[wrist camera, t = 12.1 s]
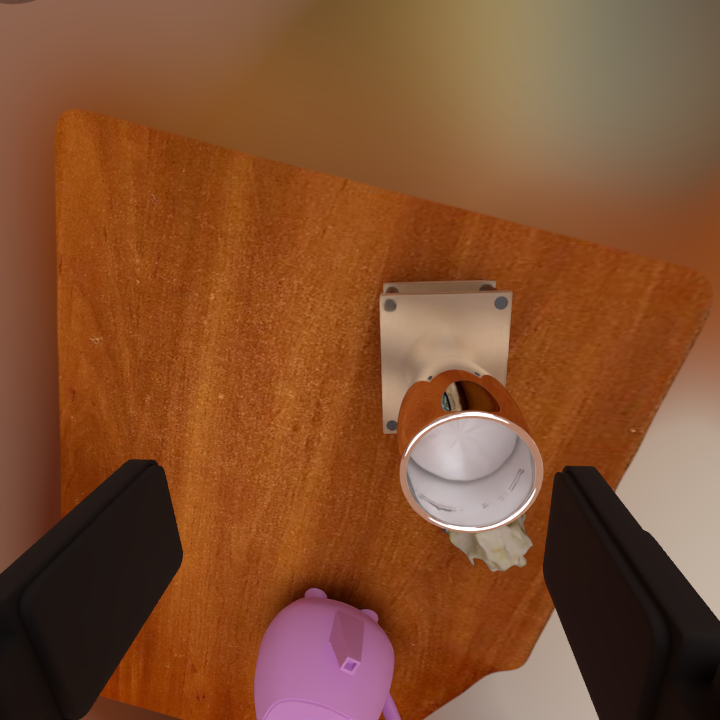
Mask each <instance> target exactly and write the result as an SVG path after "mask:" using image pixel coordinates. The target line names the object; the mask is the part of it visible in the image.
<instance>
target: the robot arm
mask: <svg viewBox="0 0 720 720" xmlns="http://www.w3.org/2000/svg"><path fill="white" fill-rule="evenodd" d="M182 559H183V550H182V545H181V541H180V537H179V532H178V528H177V523H176V519H175V515H174V510H173V506H172V502H171V497H170V493H169V489H168V484H167V480H166V475H165V471H164V469H163V467H162V466H159V465H158V463H157V462H156V461H155V460H139V459H132V460H128V461H127V462H125V463H124V464H123V465H122V466H121V467H120V468H119V469H118V470H116V471H115V472H114V473H113V474H112V475H111V476H110V477H109V478H108V479H106V480H105V481H104V482H103V483H102V484H101V485H100V486H99V487H97V488H96V489H95V490H94V491H93V492H92V493H91V494H90V495H88V496H87V497H86V498H85V499H84V500H83V501H82V502H81V503H80V504H78V505H77V506H76V507H75V508H74V509H73V510H72V511H71V512H69V513H68V514H67V515H66V516H65V517H64V518H63V519H62V520H61V521H59V522H58V523H57V524H56V525H55V526H54V527H53V528H52V529H50V530H49V531H48V532H47V533H46V534H45V535H44V536H43V537H41V538H40V539H39V540H38V541H37V542H36V543H35V544H34V545H32V546H31V547H30V548H29V549H28V550H27V551H26V552H25V553H24V554H22V555H21V556H20V557H19V558H18V559H17V560H16V561H15V562H13V563H12V564H11V565H10V566H9V567H8V568H7V569H6V570H4V571H3V572H2V573H1V574H0V720H79V719H81V718H83V717H84V716H85V715H86V714H87V713H88V712H89V710H90V709H91V707H92V706H93V704H94V702H95V701H96V699H97V698H98V696H99V695H100V693H101V691H102V690H103V688H104V687H105V685H106V684H107V682H108V680H109V679H110V677H111V676H112V674H113V672H114V671H115V669H116V668H117V666H118V664H119V663H120V661H121V660H122V658H123V657H124V655H125V653H126V652H127V650H128V649H129V647H130V645H131V644H132V642H133V641H134V639H135V638H136V636H137V634H138V633H139V631H140V630H141V628H142V626H143V625H144V623H145V622H146V620H147V618H148V617H149V615H150V614H151V612H152V611H153V609H154V607H155V606H156V604H157V603H158V601H159V599H160V598H161V596H162V595H163V593H164V591H165V590H166V588H167V587H168V585H169V584H170V582H171V580H172V579H173V577H174V576H175V574H176V572H177V571H178V569H179V567H180V566H181V563H182ZM543 574H544V579H545V583H546V586H547V588H548V591H549V593H550V596H551V598H552V601H553V603H554V606H555V608H556V611H557V613H558V616H559V618H560V621H561V623H562V626H563V629H564V631H565V634H566V636H567V639H568V641H569V644H570V646H571V649H572V651H573V654H574V656H575V659H576V661H577V664H578V666H579V669H580V672H581V674H582V677H583V679H584V682H585V684H586V687H587V689H588V692H589V694H590V697H591V700H592V702H593V705H594V707H595V710H596V712H597V715H598V717H599V720H720V621H719V620H718V619H717V617H716V616H715V615H714V614H713V612H712V611H711V610H710V608H709V607H708V606H707V605H706V603H705V602H704V601H703V599H702V598H701V597H700V596H699V595H698V593H697V592H696V591H695V589H694V588H693V587H692V585H691V584H690V583H689V582H688V580H687V579H686V578H685V577H684V575H683V574H682V573H681V572H680V570H679V569H678V568H677V567H676V565H675V564H674V563H673V561H672V560H671V559H670V558H669V556H668V555H667V554H666V552H665V551H664V550H663V549H662V547H661V546H660V545H659V544H658V542H657V541H656V540H655V539H654V537H652V536H651V534H650V533H648V532H647V531H645V530H643V529H642V527H641V526H640V525H639V524H638V522H637V521H636V520H635V518H634V517H633V516H632V515H631V513H630V512H629V511H628V509H627V508H626V507H625V506H624V504H623V503H622V502H621V500H620V499H619V498H618V496H617V495H616V494H615V493H614V491H613V490H612V489H611V487H610V486H609V485H608V484H607V482H606V481H605V480H604V478H603V477H602V476H601V474H600V473H599V472H598V471H597V469H596V468H594V467H592V466H565V467H564V469H563V471H562V472H557V473H556V474H555V477H554V484H553V492H552V499H551V507H550V515H549V523H548V531H547V538H546V546H545V554H544V562H543Z"/></svg>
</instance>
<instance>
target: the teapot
mask: <svg viewBox="0 0 720 720" xmlns="http://www.w3.org/2000/svg"><path fill="white" fill-rule="evenodd" d="M377 622H378V615H377V614H376V613H375V612H374V611H372V610H369V609H363V610H359V609H357V608H355V607H353V606H351V605H348V604H346V603H343V602H340V601H336V600H332V599H327V595H326V594H325V592H324V591H322V590H320V589H317V588H311V589H309V590H307V591H306V593H305V598H301V599H298V600H296V601H294V602H292V603H291V604H289V605H288V606H286V607H285V608H284V609H282V610H281V611H280V612H279V613H278V614H277V615H276V616H275V618H274V619H273V620H272V622H271V623H270V625H269V626H268V628H267V630H266V631H265V634H264V636H263V639H262V642H261V645H260V649H259V653H258V658H257V664H256V672H255V680H254V697H255V708H256V717H257V720H378V719H379V717H380V715H381V712H382V711H383V714H384V717H385V720H401V717H400V715H399V713H398V710H397V708H396V706H395V703H394V701H393V699H392V697H391V694H390V692H389V690H390V686H391V682H392V678H393V671H394V651H393V647H392V644H391V642H390V640H389V638H388V637H387V635H386V634H385V632H384V631H383V629H382V628H381V627H380V626H379V624H378V623H377Z"/></svg>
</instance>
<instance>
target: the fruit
mask: <svg viewBox="0 0 720 720" xmlns="http://www.w3.org/2000/svg"><path fill="white" fill-rule="evenodd" d="M525 519H526V516H525V513H524V514H522V515H521V516H520V517H519V518H517V519H516V520H514V521H513V522H511V523H509V524H507V525H505V526H503V527H501V528H498V529H495V530H491V531H487V532H481V533H460V532H454V531H450V530H446V529H443V528H442V530H443V531H444V532H445V533H447V534H449V538H450V541H451V542H452V543H453V544H454V545H455V546H456V547H458V548H460V549H461V550H462V551H463V552H464V553H465V554H466V555H467V556H468V558H469V560H470V561H471V563H472V565H473V566H474V562H473V558H478V559H482V560H483V561H484V562H485V563H486V564H487V566H488V568H489V569H490V570H491V571H493V572H494V571H497V570H500V571H505V570H507V569H508V568H509V567H511V566H513V565H517V566H519V567H522V566H525V565H526V559H525V558H524V556H523V555H524V554H525V553H526V552H527V550H528V549H529V547H530V546H532V545H533V544H532V543H531V539H530V537H528V536H527V534H526V532H525V528H524V521H525Z"/></svg>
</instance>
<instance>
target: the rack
mask: <svg viewBox="0 0 720 720" xmlns="http://www.w3.org/2000/svg"><path fill="white" fill-rule="evenodd" d="M512 295H513V292H511V291H510V290H497V289H496V281H495V280H483V279H479V280H462V281H427V282H390V283H383V293H381V294H380V296H379V303H380V339H381V375H382V411H383V433H386V434H396V430H397V419H398V412H399V408H400V405H401V401H402V398H403V396H404V393H405V391H406V389H407V387H408V383H407V380H406V377H405V370H404V367H405V360H406V357H407V355H408V353H409V351H410V349H411V348H412V347H413V346H414V344H415V343H416V342H418V341H419V340H420V339H422V338H423V337H425V336H427V335H430V334H433V333H437V332H450V333H455V334H458V335H461V336H463V337H464V338H466V339H467V340H469V341H470V342H471V343H472V344H473V345H474V346H475V348H476V349H477V351H478V353H479V356H480V359H481V363H482V368H484V369H485V370H486V371H488V372H489V373H490V374H492V375H493V376H494V377H495V378H496V379H497V380H498V381H499V382H500V383H501V384H502V385H503V386H504V387H505V388H506V376H507V362H508V349H509V335H510V322H511V308H512Z"/></svg>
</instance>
